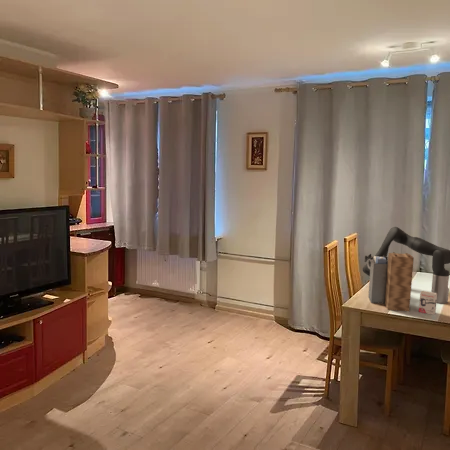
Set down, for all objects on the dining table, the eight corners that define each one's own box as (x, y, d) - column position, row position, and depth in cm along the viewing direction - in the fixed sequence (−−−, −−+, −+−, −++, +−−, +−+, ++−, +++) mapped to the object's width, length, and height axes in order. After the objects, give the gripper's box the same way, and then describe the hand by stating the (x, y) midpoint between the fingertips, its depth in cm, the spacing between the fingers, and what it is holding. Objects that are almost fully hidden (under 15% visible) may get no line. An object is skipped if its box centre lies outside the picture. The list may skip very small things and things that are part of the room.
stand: (405, 305, 284) (409, 252, 280) (409, 311, 273) (413, 255, 269) (384, 304, 286) (388, 251, 282) (387, 309, 275) (392, 254, 271)
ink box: (418, 312, 273) (420, 292, 271) (420, 309, 277) (421, 290, 275) (434, 314, 268) (435, 294, 267) (435, 312, 272) (437, 293, 271)
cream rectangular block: (380, 260, 308) (380, 251, 307) (385, 267, 287) (386, 258, 286) (372, 259, 309) (372, 251, 308) (377, 266, 287) (377, 257, 287)
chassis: (384, 297, 301) (386, 259, 298) (387, 304, 287) (390, 264, 283) (367, 296, 303) (370, 258, 300) (371, 302, 288) (373, 263, 285)
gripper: (362, 257, 322) (366, 249, 307) (384, 259, 319) (388, 250, 304) (362, 268, 319) (366, 260, 304) (384, 269, 316) (389, 261, 302)
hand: (377, 255), depth 304 cm, fingers open, 8 cm apart
